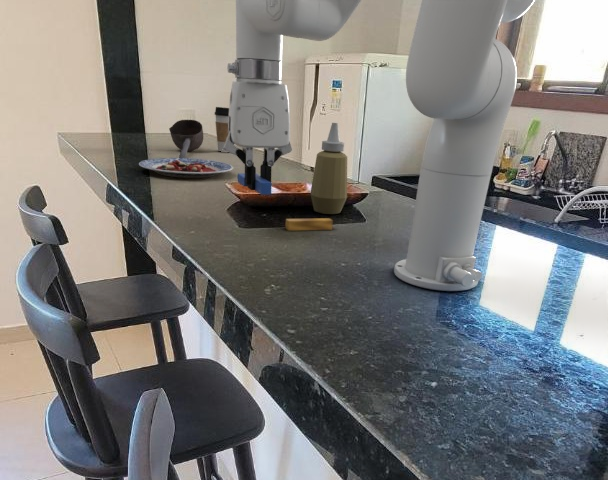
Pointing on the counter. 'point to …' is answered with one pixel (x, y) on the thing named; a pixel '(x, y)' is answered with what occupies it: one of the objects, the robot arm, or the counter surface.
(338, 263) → the counter surface
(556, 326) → the counter surface
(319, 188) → the squeeze bottle
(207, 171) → the ceramic plate
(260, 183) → the blue l-shaped block
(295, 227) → the fry
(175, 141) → the ladle
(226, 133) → the coffee cup
